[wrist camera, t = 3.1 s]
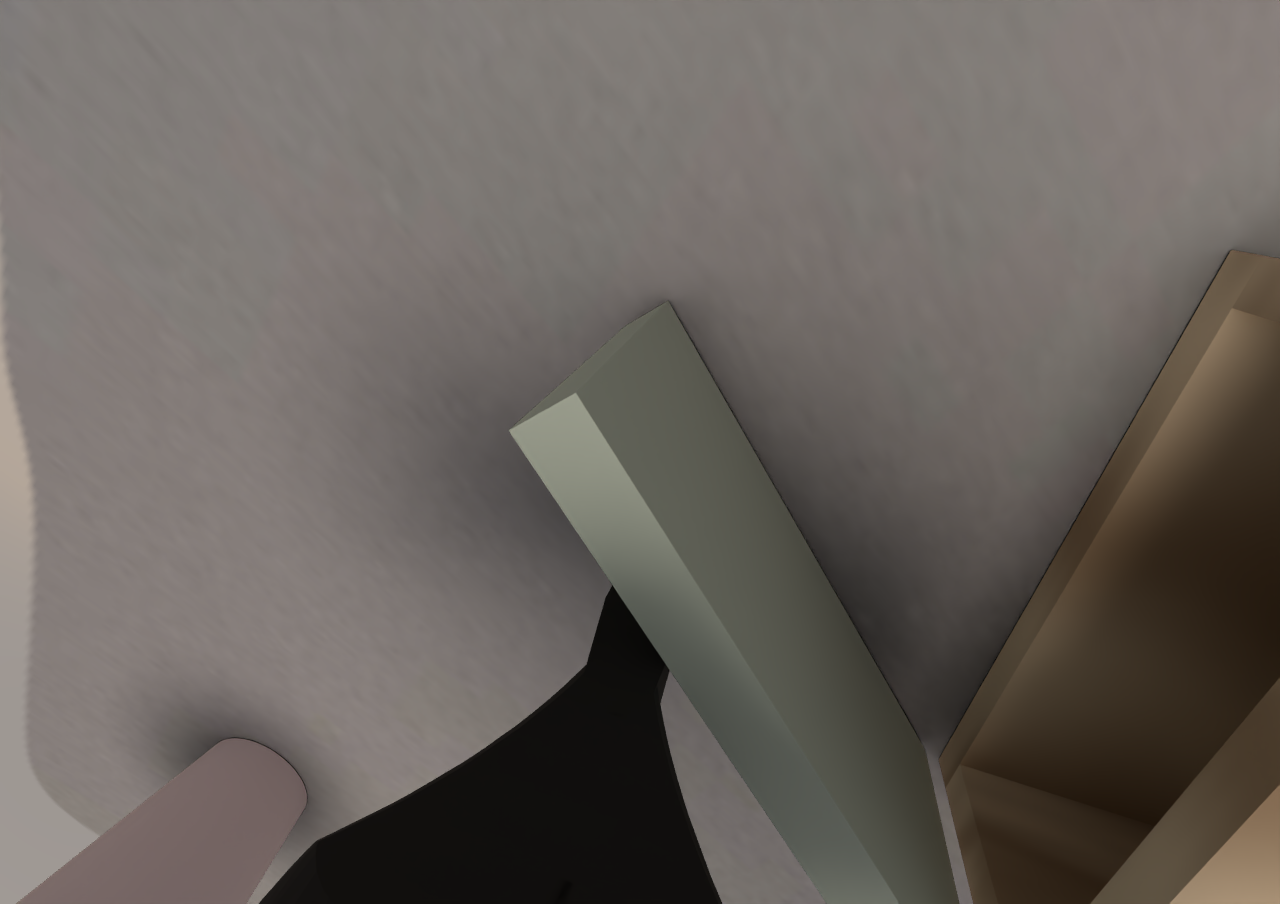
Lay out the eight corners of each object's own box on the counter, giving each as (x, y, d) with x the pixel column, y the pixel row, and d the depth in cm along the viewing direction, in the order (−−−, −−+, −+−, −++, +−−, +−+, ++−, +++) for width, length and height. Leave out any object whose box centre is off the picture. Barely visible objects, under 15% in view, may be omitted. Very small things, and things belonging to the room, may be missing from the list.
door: (925, 750, 15) (991, 1048, 10) (848, 768, 16) (872, 1055, 11) (668, 301, 12) (576, 392, 7) (588, 347, 13) (453, 461, 8)
